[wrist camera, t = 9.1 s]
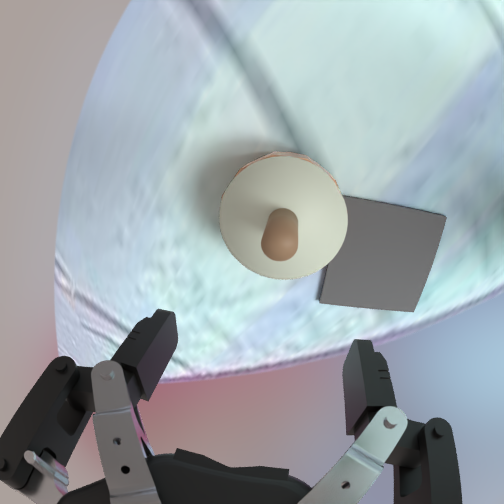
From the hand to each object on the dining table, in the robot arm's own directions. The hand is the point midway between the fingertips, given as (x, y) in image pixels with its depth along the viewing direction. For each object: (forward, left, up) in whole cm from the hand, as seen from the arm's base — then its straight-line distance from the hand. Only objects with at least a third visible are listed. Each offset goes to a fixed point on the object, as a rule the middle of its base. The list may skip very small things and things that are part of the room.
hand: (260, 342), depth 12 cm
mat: (-13, +5, -21) cm, 25 cm away
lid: (0, 0, -16) cm, 16 cm away
